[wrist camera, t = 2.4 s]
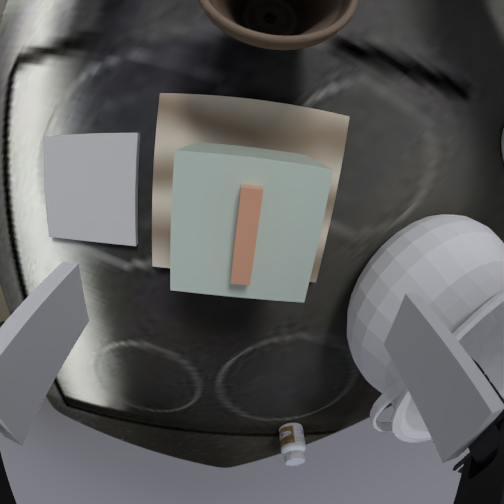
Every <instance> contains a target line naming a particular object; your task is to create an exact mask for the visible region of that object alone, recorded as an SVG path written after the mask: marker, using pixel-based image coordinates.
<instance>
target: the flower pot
mask: <svg viewBox="0 0 504 504" xmlns="http://www.w3.org/2000/svg"><path fill="white" fill-rule="evenodd" d="M198 1H199V3H200V4H201V6H202V8H203V9H204V11H205V13H206V14H207V16H208V17H209V18H210V20H211V21H212V22H213V23H214V24H215V25H216V26H217V27H218V28H219V29H221V30H222V31H223V32H225V33H226V34H227V35H229V36H231V37H233V38H235V39H237V40H239V41H241V42H243V43H246V44H249V45H252V46H256V47H260V48H265V49H273V50H295V49H302V48H307V47H310V46H314V45H316V44H319V43H321V42H323V41H325V40H327V39H329V38H330V37H332V36H333V35H334V34H336V33H337V32H338V31H339V30H341V29H342V28H343V27H344V26H345V25H346V24H347V23H348V22H349V21H350V19H351V18H352V16H353V15H354V13H355V11H356V8H357V5H358V0H198ZM266 15H272V16H274V17H275V19H276V20H275V22H273V23H267V22H266V21H265V20H264V17H265V16H266Z"/></svg>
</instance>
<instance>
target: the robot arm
mask: <svg viewBox="0 0 504 504" xmlns="http://www.w3.org/2000/svg"><path fill="white" fill-rule="evenodd" d="M88 322H89V319H88V314H87V309H86V304H85V299H84V294H83V288H82V282H81V276H80V270H79V264H77V263H70V262H62V263H61V264H60V265H59V266H58V267H57V268H56V269H55V270H54V271H53V272H52V273H51V274H50V275H49V276H48V277H47V278H46V279H45V280H44V281H43V282H42V283H41V284H40V285H39V286H38V287H37V288H36V289H35V290H34V291H33V292H32V293H31V294H30V295H29V296H28V297H27V298H26V299H25V300H24V301H23V303H22V304H21V305H20V306H19V307H18V308H17V309H16V310H15V311H14V312H13V314H12V315H11V316H10V317H9V318H8V319H7V320H6V322H4V321H2V322H1V323H0V432H1V433H2V434H3V435H4V436H5V437H6V438H8V439H10V440H12V441H14V442H16V443H18V444H20V445H22V444H23V442H24V440H25V438H26V436H27V433H28V431H29V429H30V427H31V425H32V422H33V420H34V418H35V416H36V414H37V412H38V410H39V408H40V406H41V404H42V402H43V400H44V398H45V396H46V394H47V393H48V391H49V389H50V387H51V385H52V383H53V381H54V379H55V378H56V376H57V374H58V372H59V370H60V369H61V367H62V365H63V363H64V362H65V360H66V358H67V356H68V355H69V353H70V351H71V349H72V348H73V346H74V344H75V343H76V341H77V339H78V338H79V336H80V335H81V333H82V331H83V330H84V328H85V326H86V325H87V323H88ZM384 346H385V348H386V350H387V351H388V353H389V355H390V357H391V359H392V360H393V362H394V364H395V366H396V368H397V370H398V372H399V373H400V375H401V377H402V379H403V381H404V383H405V385H406V387H407V389H408V391H409V393H410V395H411V397H412V399H413V400H414V402H415V404H416V406H417V408H418V410H419V413H420V415H421V417H422V419H423V421H424V423H425V425H426V427H427V429H428V431H429V433H430V435H431V438H432V440H433V442H434V444H435V446H436V449H437V451H438V453H439V455H440V457H441V460H442V462H443V463H444V462H446V461H449V460H451V459H454V458H456V457H458V456H459V455H460V454H461V453H462V452H464V451H465V450H466V449H467V448H469V450H470V453H469V454H467V455H466V456H465V457H464V458H463V459H462V460H461V461H460V462H458V463H457V464H456V465H455V466H454V468H453V470H454V471H455V470H456V469H458V468H459V467H460V466H461V465H462V464H464V466H463V467H462V468H460V470H459V471H458V472H460V473H462V475H461V479H460V482H459V486H458V490H457V494H456V497H455V500H454V504H504V399H503V398H502V396H501V395H500V393H499V392H498V390H497V389H496V388H495V386H494V385H493V383H492V382H490V379H489V378H488V376H487V375H486V374H484V373H485V372H484V371H483V369H482V368H481V367H480V365H479V364H478V363H477V362H476V361H475V360H474V359H472V358H471V357H470V356H469V355H468V353H467V352H466V351H465V349H464V348H463V347H462V345H461V344H460V343H459V342H458V340H457V339H456V338H455V337H454V335H453V334H452V333H451V332H450V330H449V329H448V328H447V327H446V325H445V324H444V323H443V322H442V321H441V319H440V318H439V317H438V316H437V315H436V313H435V312H434V311H433V310H432V309H431V308H430V306H429V305H428V304H427V303H426V302H425V301H424V299H423V298H422V297H421V296H420V295H419V294H405V296H404V298H403V301H402V303H401V306H400V308H399V311H398V313H397V315H396V318H395V320H394V322H393V325H392V327H391V329H390V331H389V334H388V336H387V338H386V340H385V342H384ZM0 504H16V501H15V499H14V496H13V493H12V490H11V487H10V485H9V481H8V478H7V475H6V472H5V468H4V465H3V461H2V457H1V453H0Z"/></svg>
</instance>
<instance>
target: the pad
mask: <svg viewBox="0 0 504 504" xmlns="http://www.w3.org/2000/svg"><path fill="white" fill-rule="evenodd" d="M139 148H140V133H94V134H73V135H58V136H47V137H44V183H45V200H46V211H47V221H48V230H49V237H55V238H64V239H73V240H82V241H91V242H100V243H110V244H119V245H129V246H137V244H138V168H139Z"/></svg>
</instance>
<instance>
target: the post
mask: <svg viewBox="0 0 504 504" xmlns="http://www.w3.org/2000/svg"><path fill="white" fill-rule="evenodd" d="M348 124H349V116H345V115H340V114H336V113H332V112H327V111H322V110H317V109H312V108H307V107H302V106H296V105H290V104H284V103H278V102H271V101H264V100H256V99H248V98H239V97H228V96H216V95H201V94H174V93H160V98H159V107H158V116H157V127H156V139H155V153H154V170H153V196H152V263H153V266H154V267H162V268H170V237H171V205H172V184H173V168H174V154H175V150H177V149H180V148H182V147H185V146H187V145H190V144H192V143H195V142H203V143H215V144H226V145H236V146H245V147H254V148H262V149H269V150H277V151H284V152H290V153H297V154H303V155H306V156H308V157H310V158H312V159H314V160H316V161H318V162H320V163H322V164H324V165H326V166H328V167H329V168H331V169H333V173H332V179H331V184H330V189H329V195H328V200H327V205H326V210H325V214H324V219H323V224H322V229H321V233H320V238H319V242H318V247H317V251H316V256H315V260H314V264H313V268H312V273H311V277H310V281H309V282H316V280H317V276H318V272H319V268H320V264H321V260H322V255H323V251H324V247H325V243H326V238H327V234H328V230H329V225H330V220H331V216H332V211H333V206H334V202H335V197H336V192H337V187H338V181H339V176H340V171H341V165H342V160H343V154H344V148H345V142H346V136H347V130H348Z"/></svg>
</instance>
